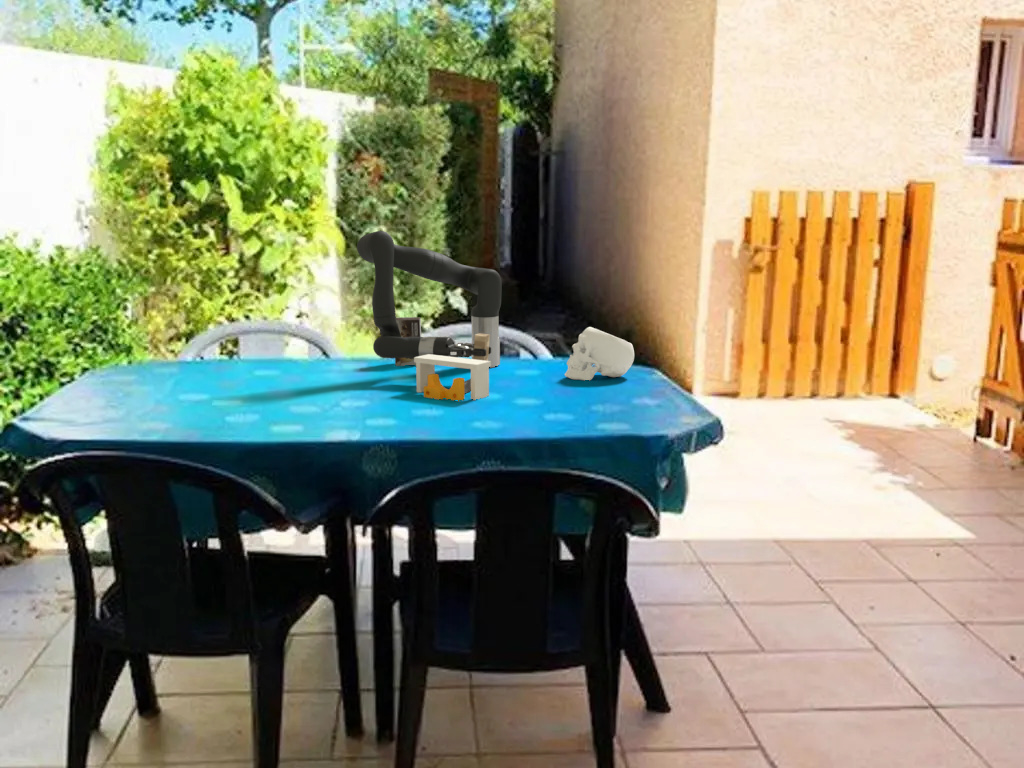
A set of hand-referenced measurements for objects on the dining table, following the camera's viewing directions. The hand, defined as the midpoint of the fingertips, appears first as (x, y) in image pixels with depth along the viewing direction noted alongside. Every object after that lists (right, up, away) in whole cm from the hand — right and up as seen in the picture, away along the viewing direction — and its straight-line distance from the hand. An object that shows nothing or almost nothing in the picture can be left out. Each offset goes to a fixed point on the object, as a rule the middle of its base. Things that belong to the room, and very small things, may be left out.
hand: (488, 351), depth 312 cm
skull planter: (+35, -8, +17) cm, 40 cm away
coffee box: (-29, -3, +41) cm, 50 cm away
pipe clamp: (-13, -14, -14) cm, 24 cm away
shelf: (-10, -13, -9) cm, 19 cm away
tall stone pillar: (-6, -12, -5) cm, 14 cm away
